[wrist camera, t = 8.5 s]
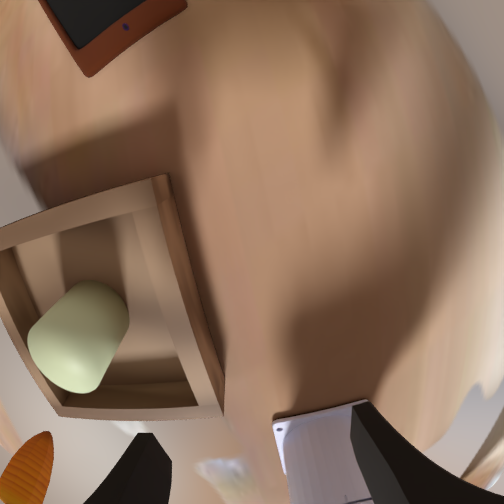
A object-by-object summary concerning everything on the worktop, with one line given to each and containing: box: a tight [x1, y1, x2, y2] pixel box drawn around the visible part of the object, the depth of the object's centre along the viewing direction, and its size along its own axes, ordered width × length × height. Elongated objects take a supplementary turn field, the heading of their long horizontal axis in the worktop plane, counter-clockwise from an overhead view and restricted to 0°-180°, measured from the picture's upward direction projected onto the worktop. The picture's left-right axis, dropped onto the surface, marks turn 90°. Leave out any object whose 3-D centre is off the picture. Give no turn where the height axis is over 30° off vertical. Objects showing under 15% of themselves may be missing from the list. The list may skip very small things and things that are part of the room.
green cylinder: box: [28, 280, 130, 393], centre depth 14 cm, size 4×4×5 cm
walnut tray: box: [0, 173, 225, 421], centre depth 16 cm, size 14×13×4 cm
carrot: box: [0, 431, 54, 504], centre depth 15 cm, size 5×5×15 cm
